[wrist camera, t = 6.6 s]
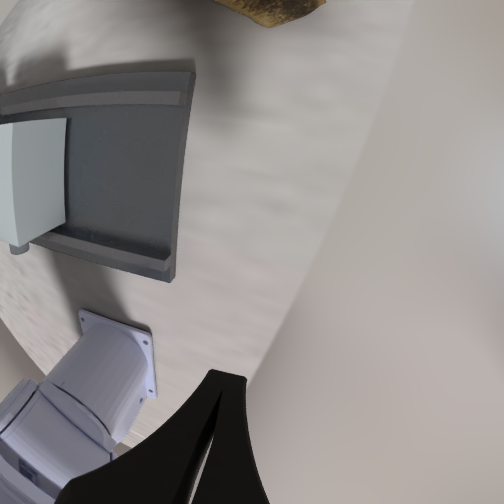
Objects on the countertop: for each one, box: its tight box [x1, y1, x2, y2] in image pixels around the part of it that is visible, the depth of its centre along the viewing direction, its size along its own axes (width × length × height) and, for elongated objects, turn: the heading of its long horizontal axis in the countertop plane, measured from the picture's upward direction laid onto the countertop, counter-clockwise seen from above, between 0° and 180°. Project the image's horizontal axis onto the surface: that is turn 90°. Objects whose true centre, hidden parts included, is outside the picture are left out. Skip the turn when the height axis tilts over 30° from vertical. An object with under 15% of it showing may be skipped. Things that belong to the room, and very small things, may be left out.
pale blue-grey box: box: [0, 118, 67, 255], centre depth 16 cm, size 10×9×5 cm
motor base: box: [0, 71, 196, 283], centre depth 16 cm, size 14×25×6 cm, turn 81°
